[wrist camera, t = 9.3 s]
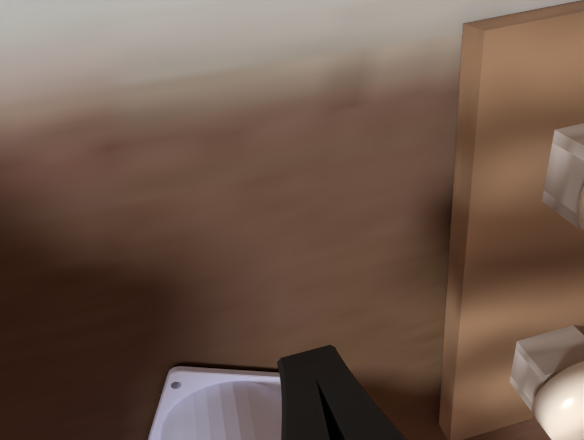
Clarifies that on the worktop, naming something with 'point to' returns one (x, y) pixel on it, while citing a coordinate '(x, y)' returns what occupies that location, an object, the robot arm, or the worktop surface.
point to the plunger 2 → (581, 209)
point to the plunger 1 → (562, 404)
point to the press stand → (514, 218)
